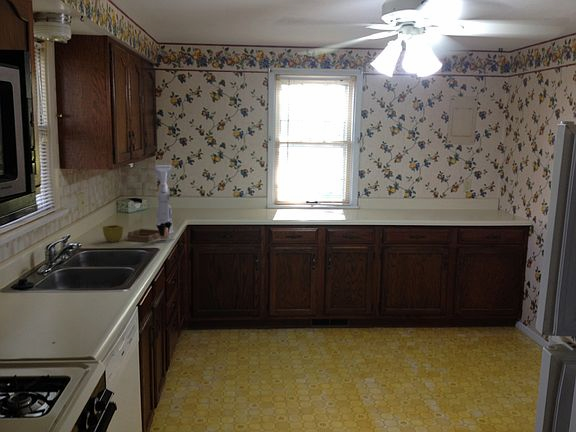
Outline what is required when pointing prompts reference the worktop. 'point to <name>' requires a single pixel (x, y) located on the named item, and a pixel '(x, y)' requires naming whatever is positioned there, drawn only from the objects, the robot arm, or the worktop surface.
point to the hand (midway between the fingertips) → (164, 235)
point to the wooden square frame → (143, 235)
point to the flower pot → (113, 232)
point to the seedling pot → (165, 234)
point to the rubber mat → (164, 240)
